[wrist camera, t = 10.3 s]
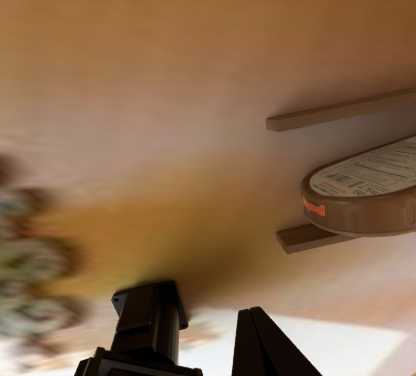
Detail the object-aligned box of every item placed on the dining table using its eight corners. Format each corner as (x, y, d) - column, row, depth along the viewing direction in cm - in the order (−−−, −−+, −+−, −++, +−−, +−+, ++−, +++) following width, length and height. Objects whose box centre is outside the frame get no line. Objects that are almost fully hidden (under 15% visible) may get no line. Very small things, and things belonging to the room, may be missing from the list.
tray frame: (446, 201, 22) (475, 211, 20) (276, 238, 22) (287, 254, 19) (474, 75, 18) (515, 71, 16) (266, 118, 17) (278, 120, 15)
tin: (287, 203, 20) (351, 263, 13) (280, 173, 19) (346, 217, 11) (441, 150, 20) (604, 177, 12) (443, 116, 19) (625, 122, 11)
